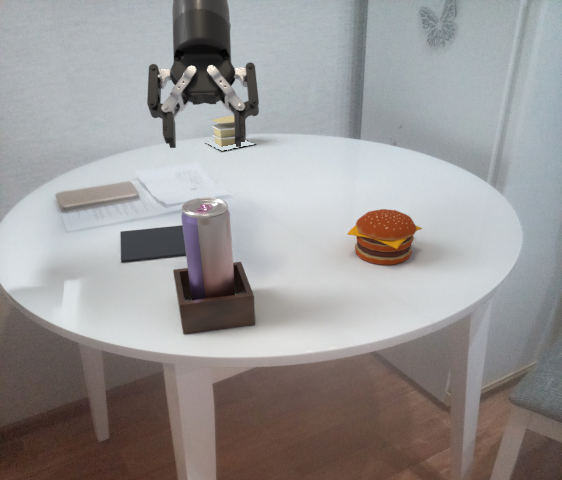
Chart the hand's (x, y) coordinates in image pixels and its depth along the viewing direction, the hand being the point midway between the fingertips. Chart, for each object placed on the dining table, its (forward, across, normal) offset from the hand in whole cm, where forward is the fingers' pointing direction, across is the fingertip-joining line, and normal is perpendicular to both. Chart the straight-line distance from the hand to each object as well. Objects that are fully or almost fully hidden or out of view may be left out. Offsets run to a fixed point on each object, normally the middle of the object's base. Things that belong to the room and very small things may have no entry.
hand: (205, 144), depth 72 cm
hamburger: (+9, +27, +19) cm, 34 cm away
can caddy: (+20, 0, +7) cm, 22 cm away
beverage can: (+20, 0, +8) cm, 22 cm away
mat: (+5, -11, +23) cm, 26 cm away
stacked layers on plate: (-33, +1, +61) cm, 69 cm away
